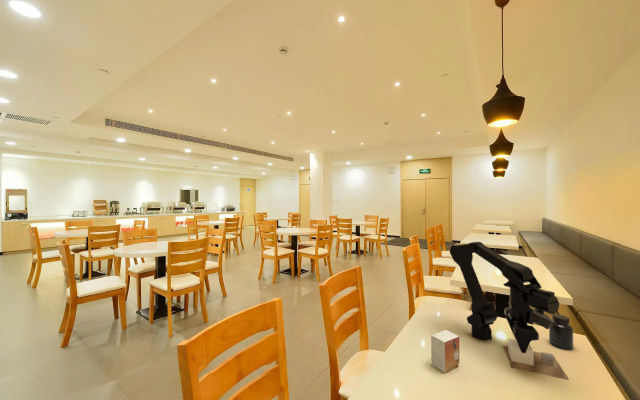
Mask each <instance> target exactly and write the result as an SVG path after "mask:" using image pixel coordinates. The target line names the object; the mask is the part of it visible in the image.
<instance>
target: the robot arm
mask: <svg viewBox="0 0 640 400" xmlns="http://www.w3.org/2000/svg"><path fill="white" fill-rule="evenodd" d="M449 254H450V256H451V258H452V260H453V261H454V263H456V264H457V265H458V266H459V269H460V271H461V274H462V276H463V280H464V281H465V285H466V287H467V291H468V293H469V296H470V299H471V306H470V309H471V314H470V315H468V316H467V317H466V321H467V323H468V324H469V325H470V327H471V329H470V330H471V331H470V332H471V337H472V338H475V339H477V340H480V341H492V339H493V338H492V336H493V335H492V332H493V331H492V328H491V326H492V325H494V323H495V321H496V320H497V319H498V314H499V313H498V311H497V309H496V306H495V303H494V302H490V301H488V299H486V296H485V294H484V292H483V289H482V286H481V284H480V281H479V279H478V276H477V274H476V271H475V269H474V266H473V258H474V255H473V254H476V255H477V256H479V257H480V258H481V259H482V260H485V261H486V262H488V263H489V264H491V265H492V266H493V267H495V268H497V269H498V270H499V271H500V272H501V275H502V276H503V277H504V278H505V279H506V280H507V282H505V283H503V286H504V287H506V288H507V287H508V288H509V301H508V305H509V306H506V307H504V310H503V311H504V312H503V313H504V315H505V316H504V317H505V318H506V321H507V324H508V326H509V328H510V330H511V332H512V335H513V337H514V339H515V340H517V343H518V345H519V348H520V350H521V352H522V353H526V351H527V348H528V346H529V344H530V343H531V342H532V341H539V340H540V338H539V337H540V334H539V332H538V330H537V329H536V328H535V327H534V326H533V325H534V324H536V325H539V326H541V327H542V328H544V329H546V330H549V327H550V325H551V323H552V321H553V320H552V319H551V317H550V316H548V314H550V315H553V314H557V312H558V311H559V308H560V302H559V299H558V297H557V296H556V295H555V293H556V292H554V291H550V290H546V289H542V285H541V284H540V283H539V281H538V279H537V278H536V276H535V275H534V272H533V270H532V269H531V268H530V267H529V266H526V265H525V264H521V263H520V262H516V261H512V260H510V259H507V258H506V257H504V256H503V255H501V254H499V252H496V251H494V250H493V249H491V248H490V247H488V246H486V245H485V244H484V243H483V242H482V241H472V242H469V243H463V244H462V243H461V244H453V245H451V246H450V249H449ZM526 283H527V284H526ZM546 313H547V314H546ZM490 325H491V326H490Z"/></svg>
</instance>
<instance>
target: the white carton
mask: <svg viewBox="0 0 640 400" xmlns="http://www.w3.org/2000/svg"><path fill="white" fill-rule="evenodd" d="M507 340H508V341H507V345H508V352H509V355H510V357H511V360H512V361H514V362H519V363H524V364H528V365H533V366H534V354H533V351H534V350H533V348H532V346H531V344H530V343H529V346H528V348H527V351H526V353H522V352H521V350H520V348H519V345H518V343H517V340H516V339H515V338H509V337H508V338H507Z"/></svg>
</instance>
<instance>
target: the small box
mask: <svg viewBox="0 0 640 400" xmlns="http://www.w3.org/2000/svg"><path fill="white" fill-rule="evenodd" d="M430 342H431V343H430V346H431V347H430V349H431V350H430V351H431V352H430V353H431V356H430V359H431V360H430V361H431V365H432V366H434V367H435V368H437V369H438V370H439V371H441V372H443V373H444V374H446V373H448V372H450V371H452V370H453V369H456V368H458V367H459V364H461V363H460V336H459V335H458V334H455V333H453V332H451V331H449V330H447V329H444V330H441V331H439V332H437V333H434V334H431V335H430Z"/></svg>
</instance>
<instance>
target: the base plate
mask: <svg viewBox="0 0 640 400" xmlns="http://www.w3.org/2000/svg"><path fill="white" fill-rule="evenodd" d="M502 347H503V349H504V353H505V355H506V357H507V361H508V362H509V365H510V368H512V369H517V370H522V371H526V372H531V373H535V374H538V375H539V374H540V375H544V376H548V377H552V378H553V377H554V378H557V379H563V380H567V381H570V378H569V376H568V375H567V374H566V372H565V371H564V369H563V367H562V366H561V365H560V363H559V362H558V360H557V359H556V357H555V356H554V366H551V365H546V364H542V362H541V351H540V352H538V351H536V350H535V351H534V350H533V354H534V366H533V365H528V364H524V363H519V362H514V361H512V360H511V357H510V355H509V352H508V346H507V345H502Z"/></svg>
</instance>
